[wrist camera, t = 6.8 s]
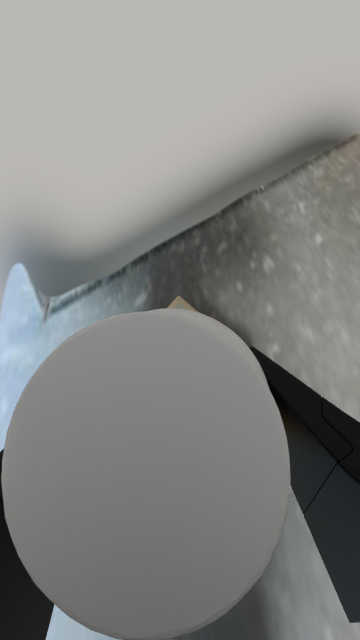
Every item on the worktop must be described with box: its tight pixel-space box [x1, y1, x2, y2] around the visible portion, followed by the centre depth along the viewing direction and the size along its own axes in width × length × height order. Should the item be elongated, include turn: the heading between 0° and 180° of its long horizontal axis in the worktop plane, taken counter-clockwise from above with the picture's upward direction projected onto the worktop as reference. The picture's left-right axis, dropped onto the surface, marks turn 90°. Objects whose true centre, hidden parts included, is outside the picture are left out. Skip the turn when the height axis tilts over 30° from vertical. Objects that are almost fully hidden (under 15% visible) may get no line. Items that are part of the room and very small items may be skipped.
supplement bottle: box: [1, 308, 291, 640], centre depth 9 cm, size 7×7×13 cm
